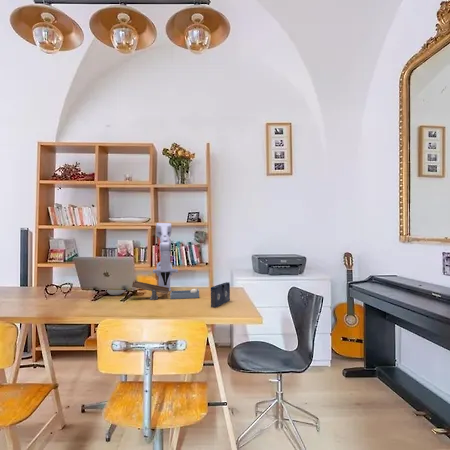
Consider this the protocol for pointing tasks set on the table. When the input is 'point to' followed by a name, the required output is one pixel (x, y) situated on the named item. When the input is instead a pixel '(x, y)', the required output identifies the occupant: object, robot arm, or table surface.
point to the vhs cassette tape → (220, 294)
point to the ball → (193, 291)
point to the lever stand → (154, 295)
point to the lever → (150, 287)
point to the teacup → (115, 292)
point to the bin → (184, 294)
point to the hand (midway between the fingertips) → (165, 285)
